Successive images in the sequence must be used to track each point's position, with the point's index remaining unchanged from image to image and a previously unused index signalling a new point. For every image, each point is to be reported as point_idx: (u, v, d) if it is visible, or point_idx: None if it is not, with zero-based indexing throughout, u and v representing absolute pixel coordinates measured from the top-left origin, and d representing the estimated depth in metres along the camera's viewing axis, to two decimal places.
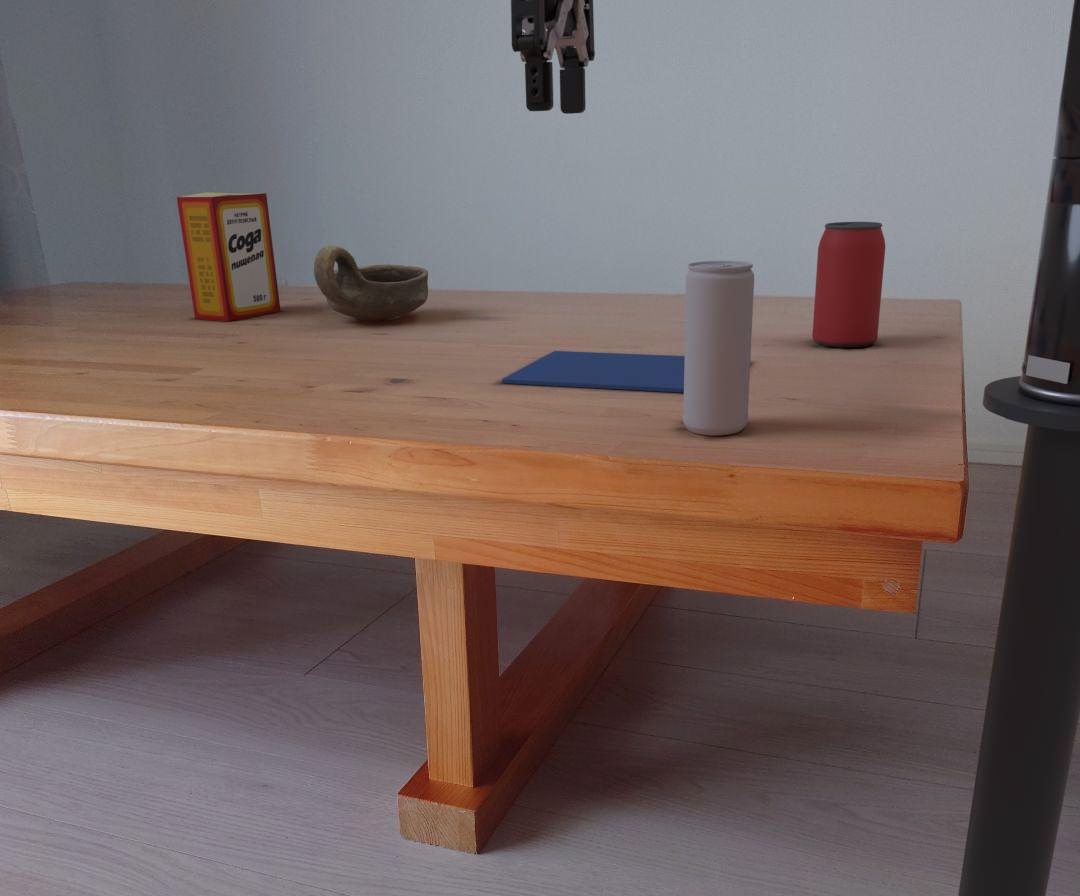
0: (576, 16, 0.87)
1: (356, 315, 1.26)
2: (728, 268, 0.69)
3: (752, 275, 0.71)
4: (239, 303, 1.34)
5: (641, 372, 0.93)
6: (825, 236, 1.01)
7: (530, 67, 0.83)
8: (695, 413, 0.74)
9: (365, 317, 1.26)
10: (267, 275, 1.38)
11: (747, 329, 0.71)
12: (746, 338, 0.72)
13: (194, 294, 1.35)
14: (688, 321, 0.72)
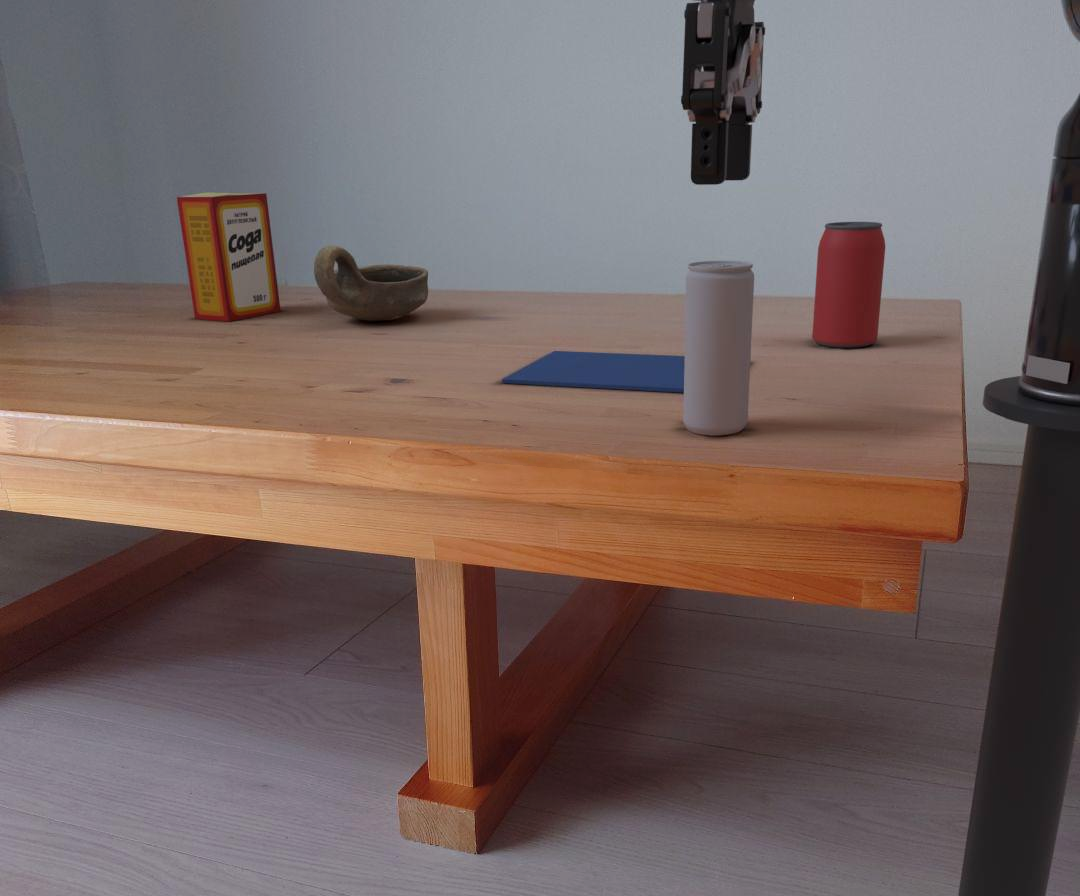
0: (751, 61, 0.68)
1: (356, 315, 1.26)
2: (728, 268, 0.69)
3: (752, 275, 0.71)
4: (240, 303, 1.34)
5: (641, 372, 0.93)
6: (825, 236, 1.01)
7: (701, 129, 0.64)
8: (695, 413, 0.74)
9: (365, 317, 1.26)
10: (267, 275, 1.38)
11: (747, 329, 0.71)
12: (746, 338, 0.72)
13: (194, 294, 1.35)
14: (688, 321, 0.72)
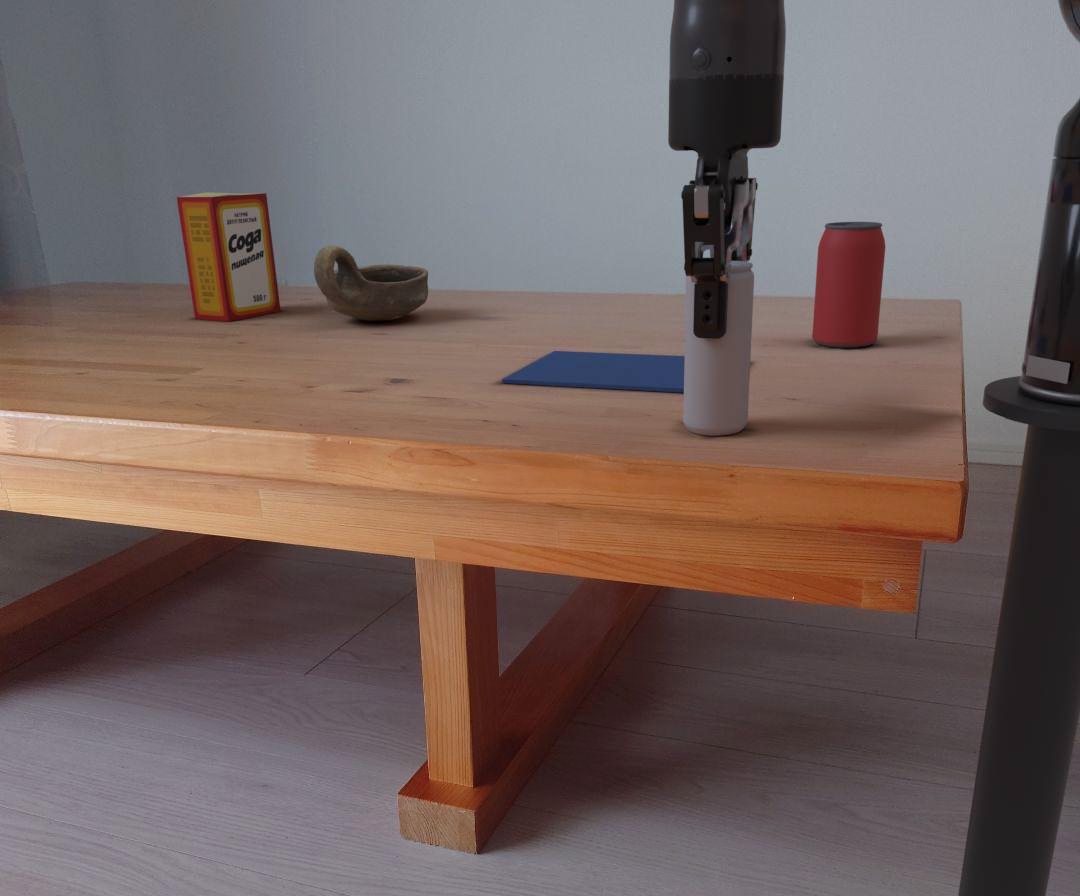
0: (744, 208, 0.70)
1: (356, 315, 1.26)
2: None
3: (752, 275, 0.71)
4: (240, 303, 1.34)
5: (641, 372, 0.93)
6: (825, 236, 1.01)
7: (703, 291, 0.69)
8: (695, 413, 0.74)
9: (365, 317, 1.26)
10: (267, 275, 1.38)
11: (747, 329, 0.71)
12: (746, 338, 0.72)
13: (194, 294, 1.35)
14: (688, 321, 0.72)
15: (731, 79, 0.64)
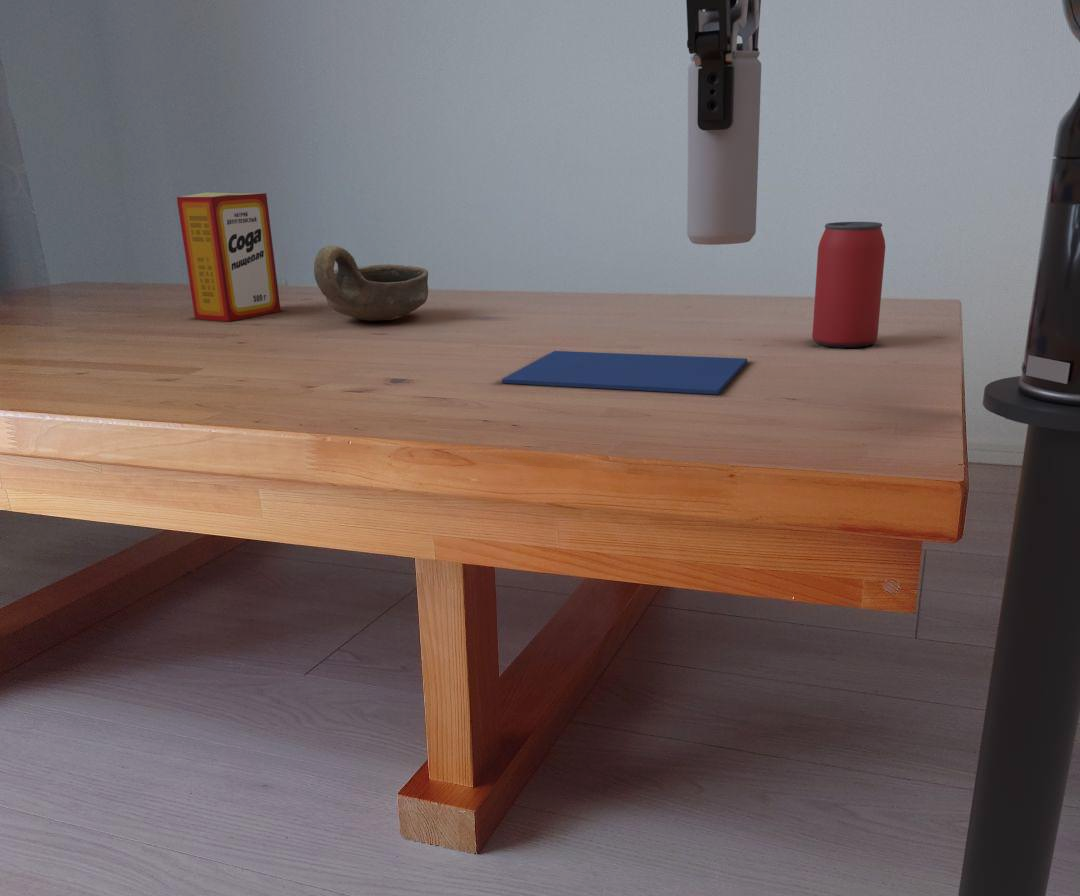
0: None
1: (356, 315, 1.26)
2: None
3: (759, 63, 0.66)
4: (240, 303, 1.34)
5: (641, 372, 0.93)
6: (825, 236, 1.01)
7: (707, 74, 0.64)
8: (699, 220, 0.69)
9: (365, 317, 1.26)
10: (267, 275, 1.38)
11: (754, 123, 0.67)
12: (753, 134, 0.67)
13: (194, 294, 1.35)
14: (691, 118, 0.67)
15: None
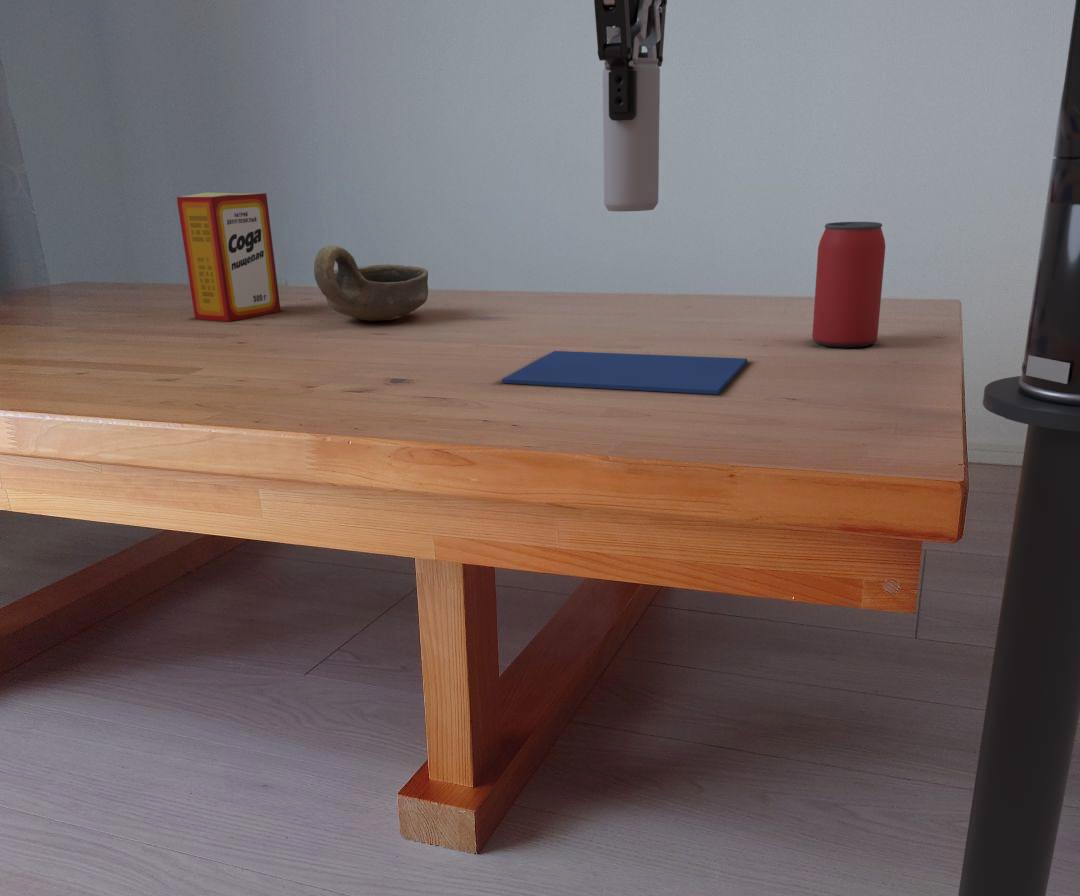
0: (651, 11, 0.84)
1: (356, 315, 1.26)
2: None
3: (657, 67, 0.84)
4: (240, 303, 1.34)
5: (641, 372, 0.93)
6: (825, 236, 1.01)
7: (615, 76, 0.82)
8: (612, 191, 0.87)
9: (365, 317, 1.26)
10: (267, 275, 1.38)
11: (654, 115, 0.85)
12: (653, 123, 0.85)
13: (194, 294, 1.35)
14: (605, 110, 0.85)
15: None
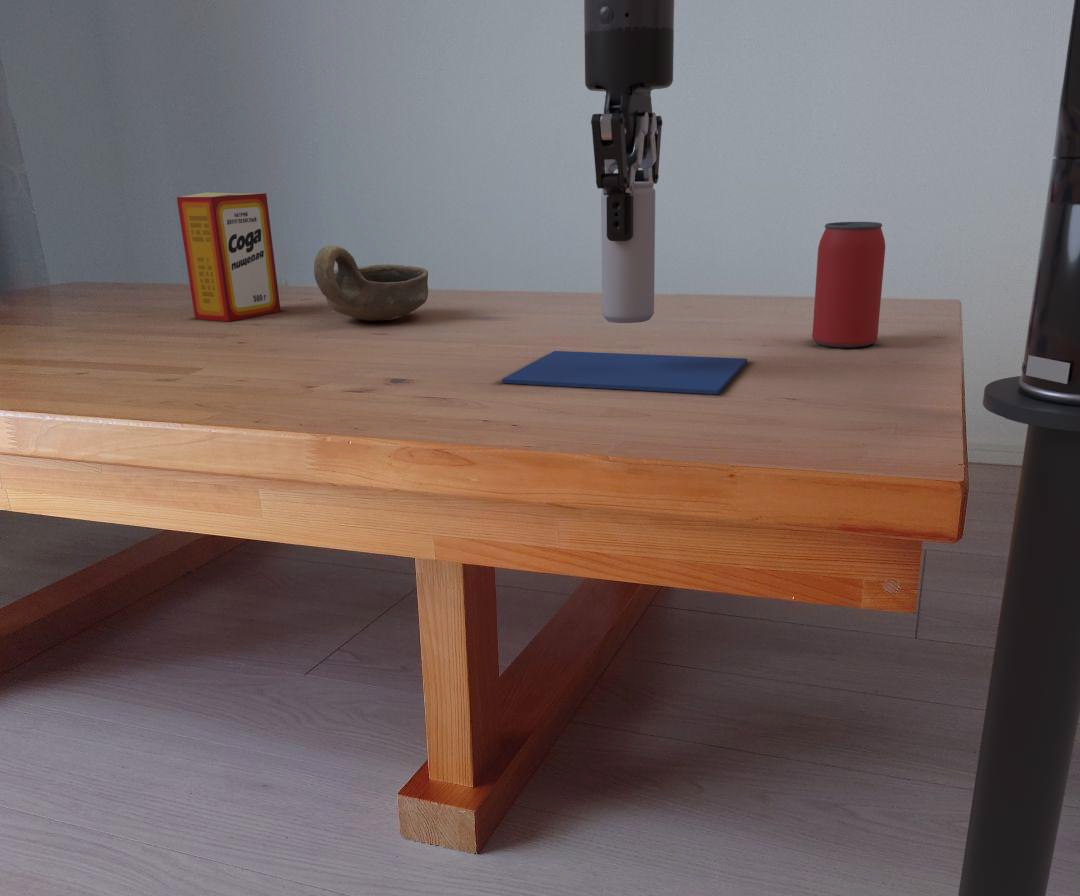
0: (647, 137, 0.88)
1: (356, 315, 1.26)
2: None
3: (653, 191, 0.88)
4: (240, 303, 1.34)
5: (641, 372, 0.93)
6: (825, 236, 1.01)
7: (612, 201, 0.87)
8: (610, 304, 0.91)
9: (365, 317, 1.26)
10: (267, 275, 1.38)
11: (649, 234, 0.89)
12: (649, 242, 0.89)
13: (194, 294, 1.35)
14: (603, 229, 0.90)
15: (629, 30, 0.81)
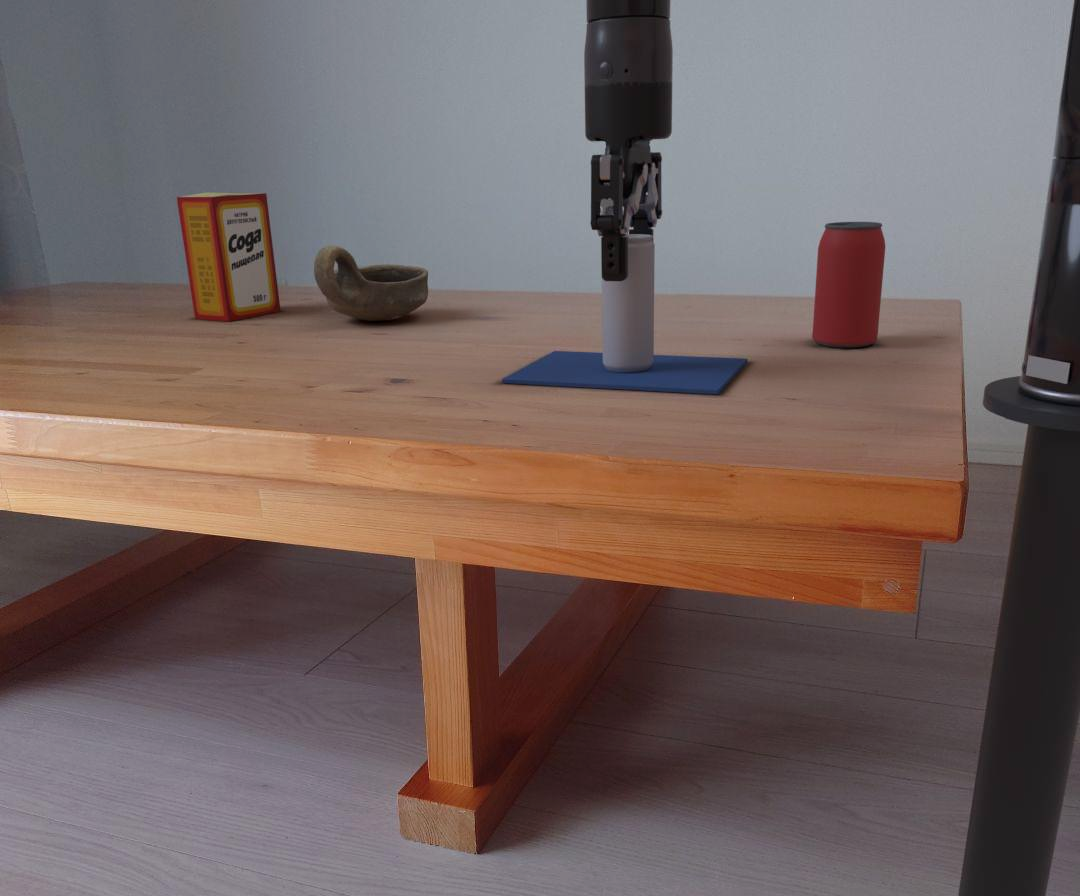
0: (648, 186, 0.90)
1: (356, 315, 1.26)
2: (632, 239, 0.89)
3: (652, 245, 0.90)
4: (240, 303, 1.34)
5: (641, 372, 0.93)
6: (825, 236, 1.01)
7: (607, 242, 0.86)
8: (610, 355, 0.93)
9: (365, 317, 1.26)
10: (267, 275, 1.38)
11: (649, 287, 0.91)
12: (648, 295, 0.91)
13: (194, 294, 1.35)
14: (603, 281, 0.92)
15: (628, 86, 0.83)
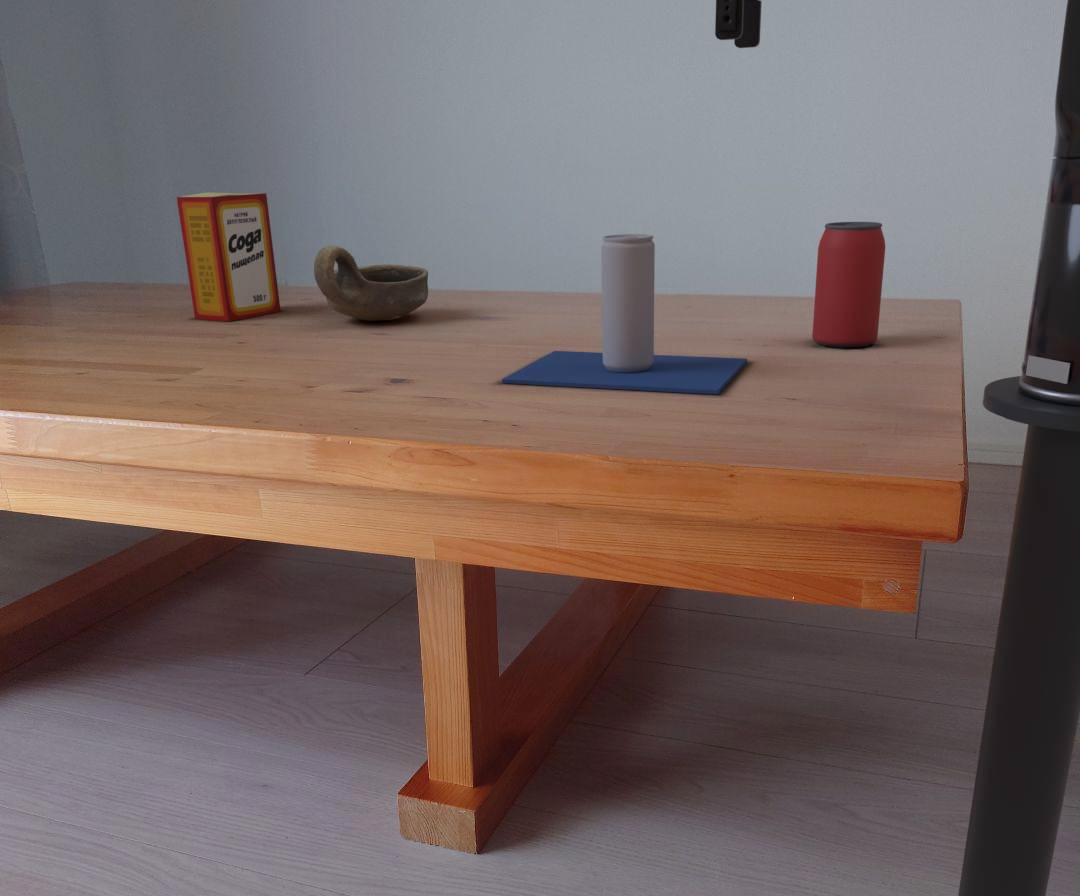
0: None
1: (356, 315, 1.26)
2: (632, 239, 0.89)
3: (652, 245, 0.90)
4: (240, 303, 1.34)
5: (641, 372, 0.93)
6: (825, 236, 1.01)
7: None
8: (610, 355, 0.93)
9: (365, 317, 1.26)
10: (267, 275, 1.38)
11: (649, 287, 0.91)
12: (648, 295, 0.91)
13: (194, 294, 1.35)
14: (603, 281, 0.92)
15: None
